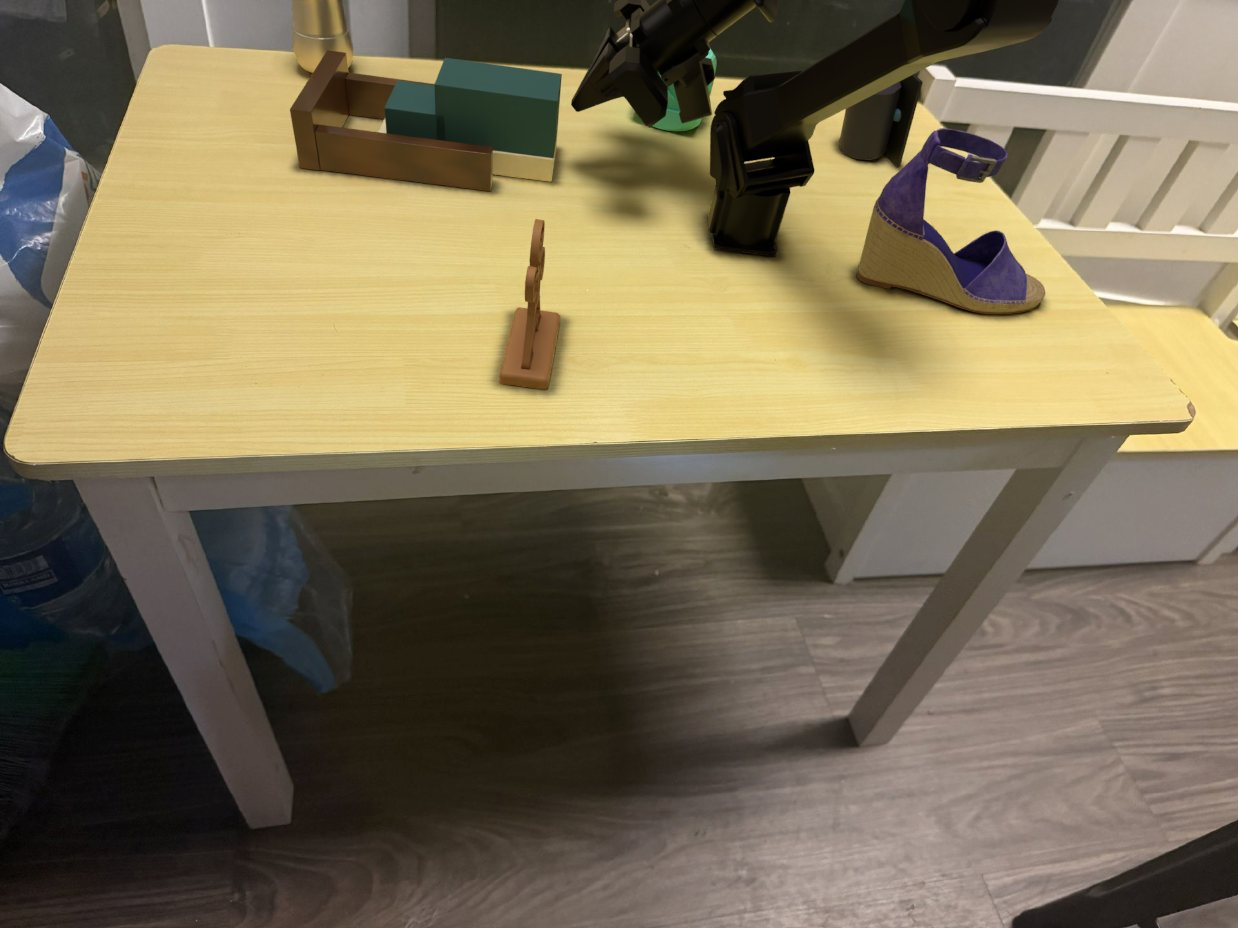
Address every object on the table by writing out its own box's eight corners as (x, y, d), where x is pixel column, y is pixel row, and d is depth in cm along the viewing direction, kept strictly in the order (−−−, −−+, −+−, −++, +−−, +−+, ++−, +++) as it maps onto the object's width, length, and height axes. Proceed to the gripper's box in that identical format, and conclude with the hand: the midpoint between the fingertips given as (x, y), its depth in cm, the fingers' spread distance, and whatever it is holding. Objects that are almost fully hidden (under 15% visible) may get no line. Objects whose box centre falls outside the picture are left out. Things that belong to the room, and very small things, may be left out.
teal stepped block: (556, 150, 91) (562, 72, 85) (551, 182, 86) (557, 102, 80) (391, 128, 89) (385, 47, 83) (378, 160, 85) (370, 77, 78)
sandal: (1048, 330, 80) (1140, 190, 69) (848, 290, 80) (908, 143, 69) (1033, 283, 85) (1116, 146, 74) (846, 245, 85) (901, 103, 74)
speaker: (895, 144, 103) (920, 59, 95) (900, 168, 99) (926, 83, 91) (834, 139, 103) (854, 55, 95) (836, 163, 99) (857, 78, 91)
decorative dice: (691, 138, 97) (705, 70, 91) (628, 121, 98) (637, 52, 92) (707, 112, 102) (721, 45, 96) (646, 95, 103) (657, 28, 97)
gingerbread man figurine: (515, 314, 71) (520, 188, 62) (560, 321, 71) (571, 195, 62) (498, 383, 65) (502, 254, 56) (547, 390, 65) (558, 262, 56)
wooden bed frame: (505, 128, 93) (506, 74, 88) (490, 192, 83) (491, 135, 79) (334, 105, 91) (327, 50, 87) (299, 168, 82) (289, 109, 77)
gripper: (754, 120, 75) (619, 212, 82) (739, 41, 88) (623, 126, 95) (685, 16, 69) (546, 125, 76) (680, -54, 81) (561, 46, 89)
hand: (574, 107), depth 84 cm, fingers closed
